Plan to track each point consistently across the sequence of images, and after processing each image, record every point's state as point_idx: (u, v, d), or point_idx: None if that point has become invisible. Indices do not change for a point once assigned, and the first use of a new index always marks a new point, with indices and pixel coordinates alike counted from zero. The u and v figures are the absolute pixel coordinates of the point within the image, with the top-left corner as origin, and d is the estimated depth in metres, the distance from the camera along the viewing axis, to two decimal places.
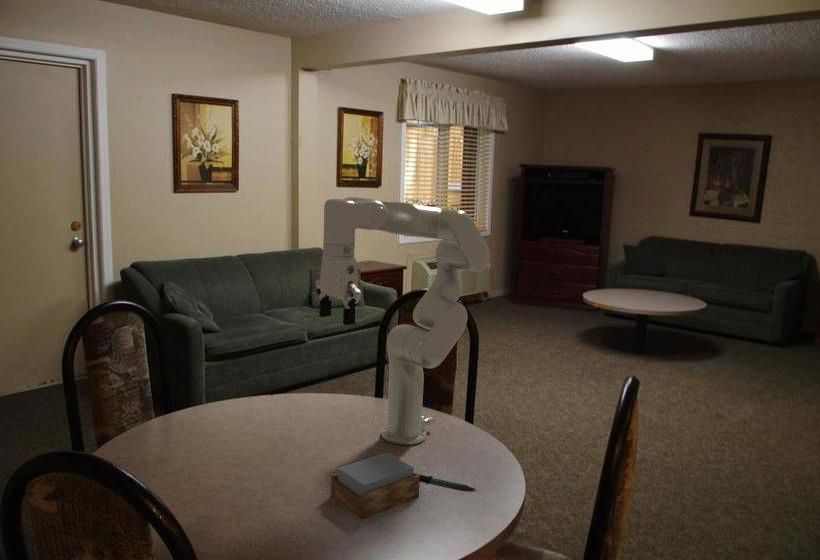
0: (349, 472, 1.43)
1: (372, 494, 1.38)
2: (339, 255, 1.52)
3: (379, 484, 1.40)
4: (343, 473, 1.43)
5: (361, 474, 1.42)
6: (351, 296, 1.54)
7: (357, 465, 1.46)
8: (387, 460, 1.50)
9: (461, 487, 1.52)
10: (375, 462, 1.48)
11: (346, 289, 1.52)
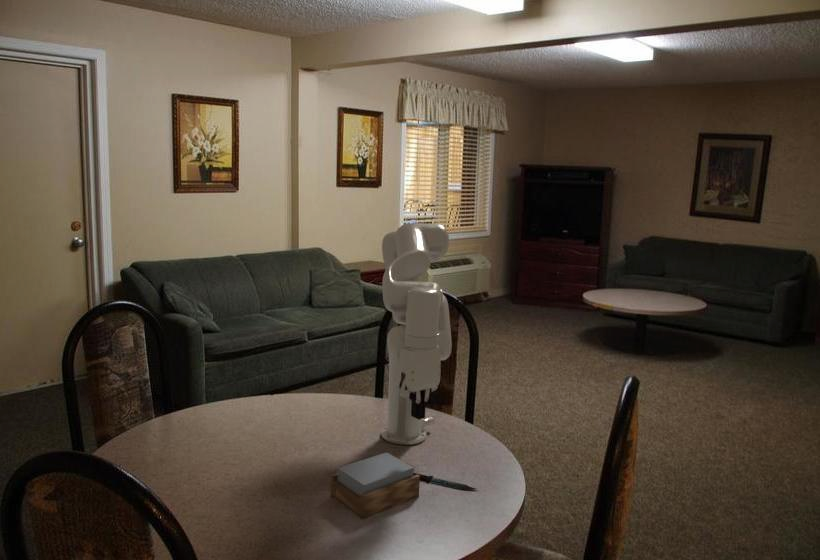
0: (349, 472, 1.43)
1: (372, 494, 1.38)
2: None
3: (379, 484, 1.40)
4: (343, 473, 1.43)
5: (361, 474, 1.42)
6: None
7: (357, 465, 1.46)
8: (387, 460, 1.50)
9: (461, 487, 1.52)
10: (375, 462, 1.48)
11: None
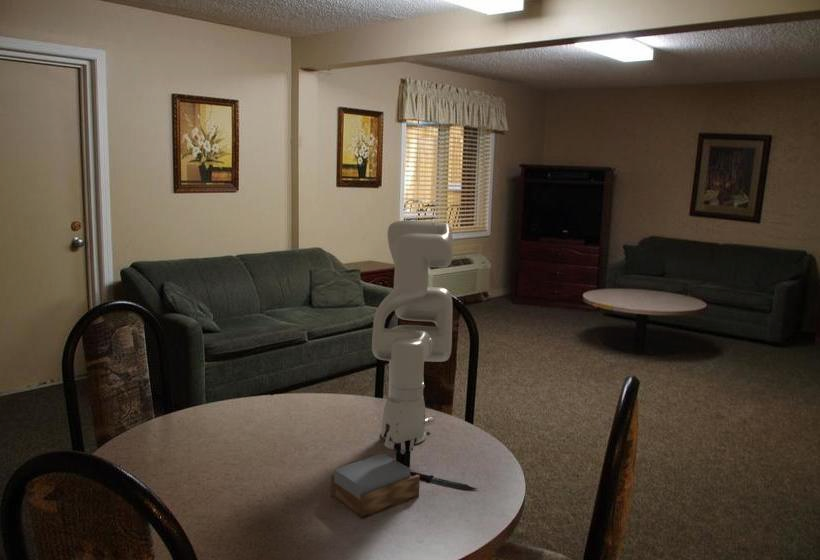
0: (346, 473, 1.42)
1: (372, 494, 1.38)
2: None
3: (376, 485, 1.40)
4: (339, 475, 1.43)
5: (357, 475, 1.42)
6: None
7: (354, 466, 1.46)
8: (384, 461, 1.49)
9: (462, 487, 1.53)
10: (372, 463, 1.48)
11: None
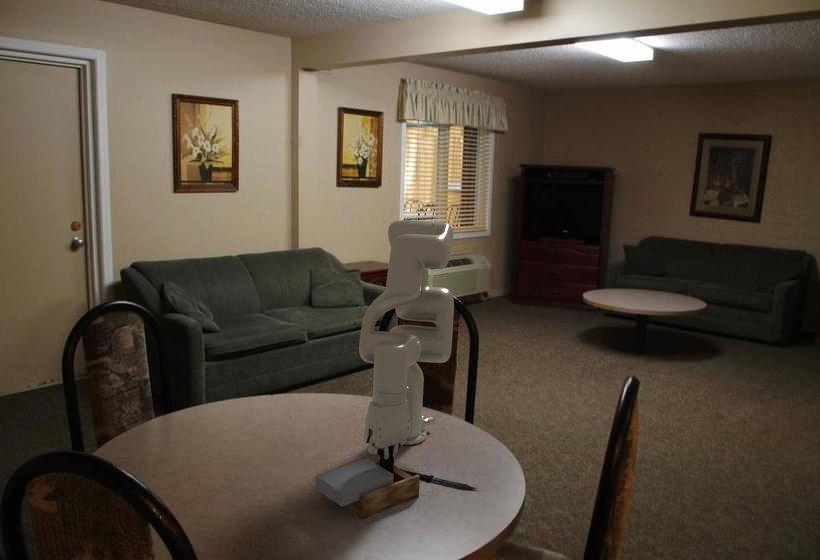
0: (327, 479, 1.39)
1: (372, 494, 1.38)
2: None
3: (358, 491, 1.37)
4: (321, 481, 1.39)
5: (339, 481, 1.38)
6: None
7: (336, 472, 1.42)
8: (367, 466, 1.46)
9: (462, 487, 1.53)
10: (354, 468, 1.45)
11: None
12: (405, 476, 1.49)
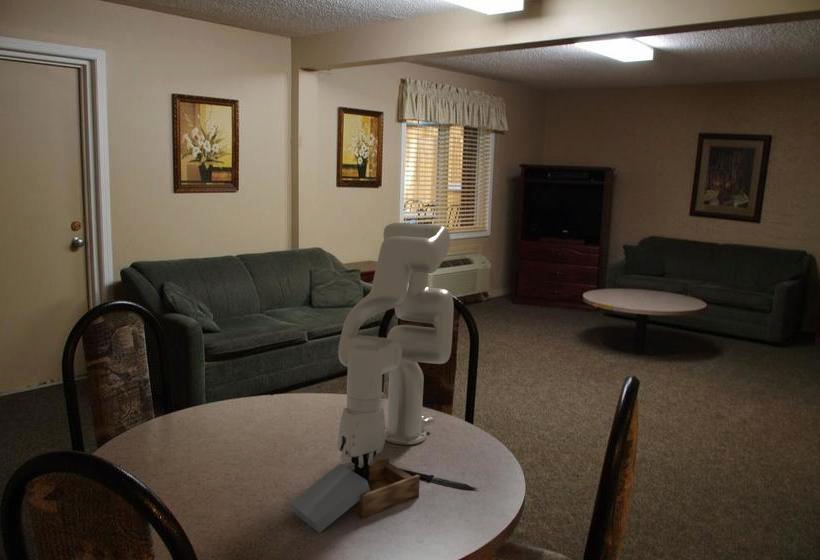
0: (301, 505, 1.36)
1: (372, 494, 1.38)
2: None
3: (333, 512, 1.33)
4: (295, 508, 1.36)
5: (312, 505, 1.35)
6: None
7: (309, 493, 1.38)
8: (340, 475, 1.41)
9: (462, 486, 1.53)
10: (328, 482, 1.40)
11: None
12: (405, 476, 1.49)
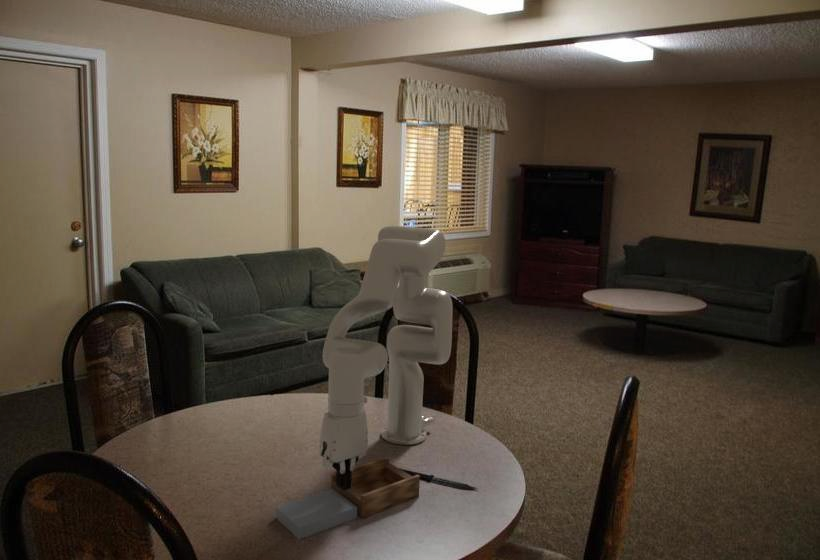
0: (287, 511, 1.34)
1: (372, 494, 1.38)
2: None
3: (317, 525, 1.31)
4: (280, 513, 1.34)
5: (299, 514, 1.33)
6: None
7: (297, 504, 1.37)
8: (331, 497, 1.41)
9: (462, 486, 1.53)
10: (317, 500, 1.39)
11: None
12: (405, 476, 1.49)
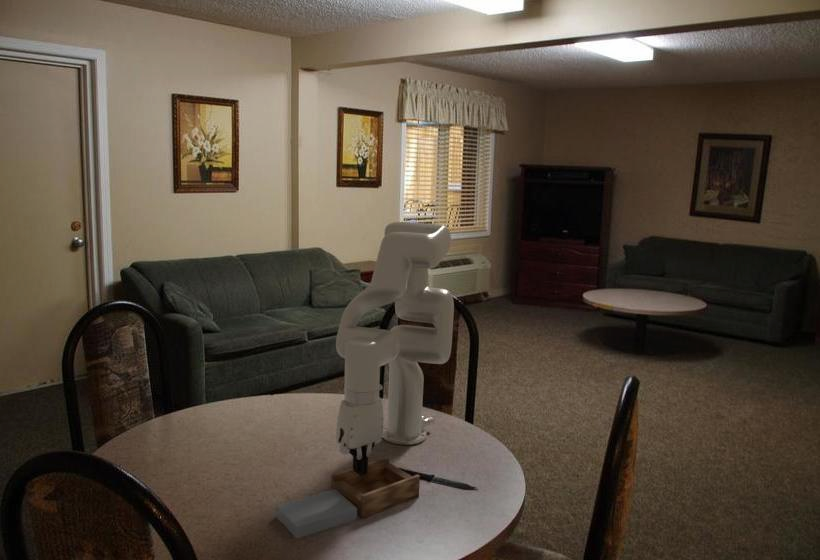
0: (287, 510, 1.35)
1: (372, 494, 1.38)
2: None
3: (316, 525, 1.31)
4: (280, 512, 1.35)
5: (298, 513, 1.34)
6: None
7: (298, 503, 1.38)
8: (332, 498, 1.41)
9: (462, 486, 1.53)
10: (318, 500, 1.39)
11: None
12: (405, 476, 1.49)
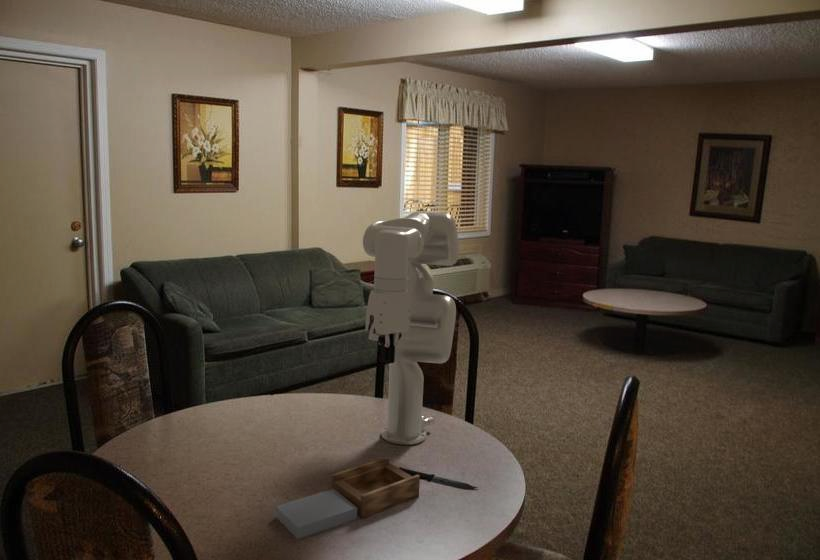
0: (287, 511, 1.34)
1: (372, 494, 1.38)
2: None
3: (316, 526, 1.31)
4: (280, 512, 1.35)
5: (298, 514, 1.33)
6: None
7: (297, 503, 1.37)
8: (332, 497, 1.41)
9: (462, 486, 1.53)
10: (318, 500, 1.39)
11: None
12: (405, 476, 1.49)
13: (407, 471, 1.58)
